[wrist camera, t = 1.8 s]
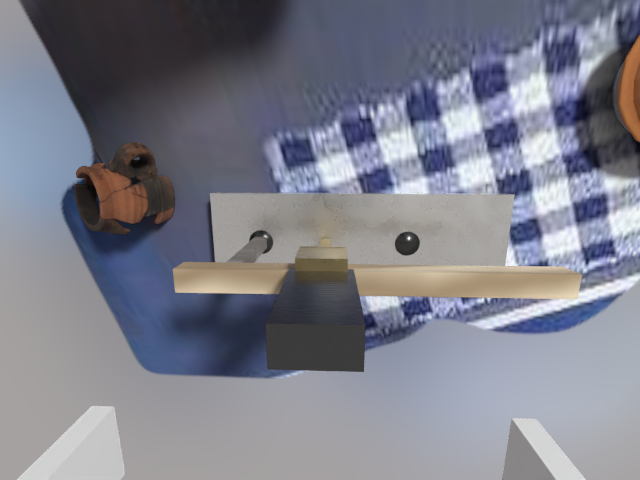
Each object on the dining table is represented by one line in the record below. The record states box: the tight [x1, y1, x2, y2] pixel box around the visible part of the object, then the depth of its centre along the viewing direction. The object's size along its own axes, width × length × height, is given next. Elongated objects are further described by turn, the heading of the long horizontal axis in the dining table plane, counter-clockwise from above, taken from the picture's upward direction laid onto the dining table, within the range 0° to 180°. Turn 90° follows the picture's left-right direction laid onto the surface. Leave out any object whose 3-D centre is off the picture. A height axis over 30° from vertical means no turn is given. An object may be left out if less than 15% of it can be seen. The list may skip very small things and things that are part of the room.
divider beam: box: [173, 237, 582, 299], centre depth 32 cm, size 2×32×14 cm, turn 90°
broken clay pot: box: [74, 142, 175, 235], centre depth 38 cm, size 12×10×8 cm
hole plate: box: [210, 192, 514, 266], centre depth 39 cm, size 12×36×2 cm, turn 90°
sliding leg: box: [266, 239, 365, 372], centre depth 27 cm, size 5×5×23 cm
